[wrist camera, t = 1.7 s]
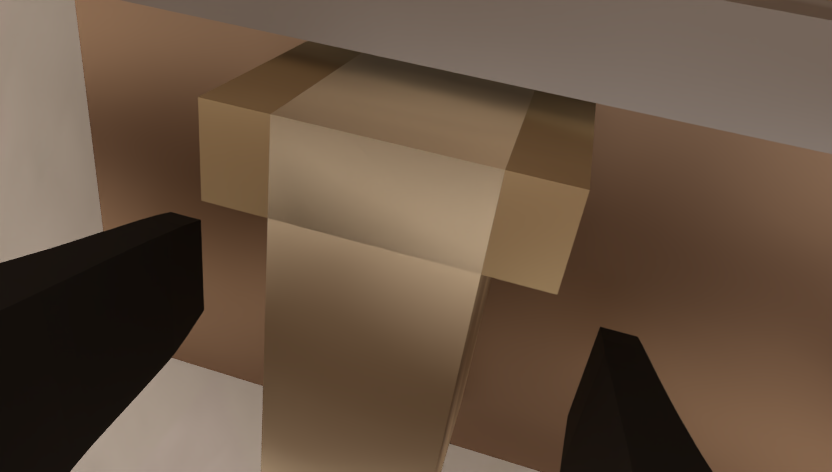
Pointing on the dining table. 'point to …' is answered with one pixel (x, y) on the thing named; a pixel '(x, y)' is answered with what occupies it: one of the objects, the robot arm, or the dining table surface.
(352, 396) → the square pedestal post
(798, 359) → the board
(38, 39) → the dining table surface
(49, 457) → the robot arm
